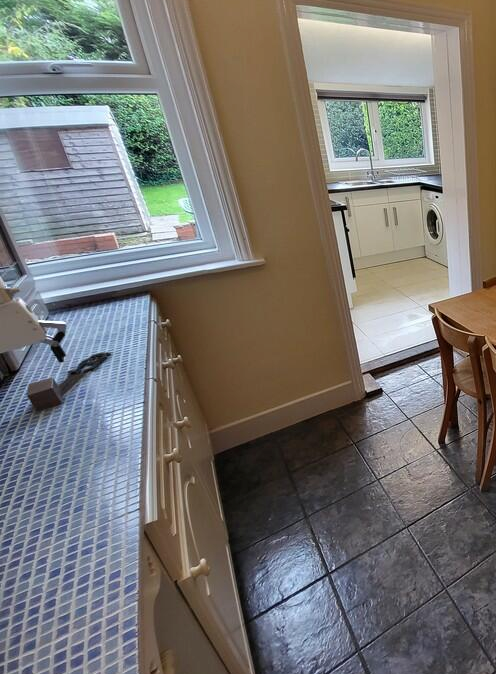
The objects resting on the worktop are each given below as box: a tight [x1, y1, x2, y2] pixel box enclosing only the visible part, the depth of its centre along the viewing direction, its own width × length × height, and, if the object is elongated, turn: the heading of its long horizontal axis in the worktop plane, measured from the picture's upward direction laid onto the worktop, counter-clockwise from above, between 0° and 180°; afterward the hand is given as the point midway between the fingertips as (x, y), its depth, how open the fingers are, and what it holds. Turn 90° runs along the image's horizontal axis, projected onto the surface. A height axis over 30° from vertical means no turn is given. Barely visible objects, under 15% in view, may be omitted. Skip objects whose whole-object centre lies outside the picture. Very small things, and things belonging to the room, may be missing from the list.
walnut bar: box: [26, 376, 63, 412], centre depth 94 cm, size 7×4×4 cm, turn 46°
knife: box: [58, 351, 112, 399], centre depth 105 cm, size 25×6×1 cm, turn 16°
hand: (32, 369), depth 92 cm, fingers open, 9 cm apart
